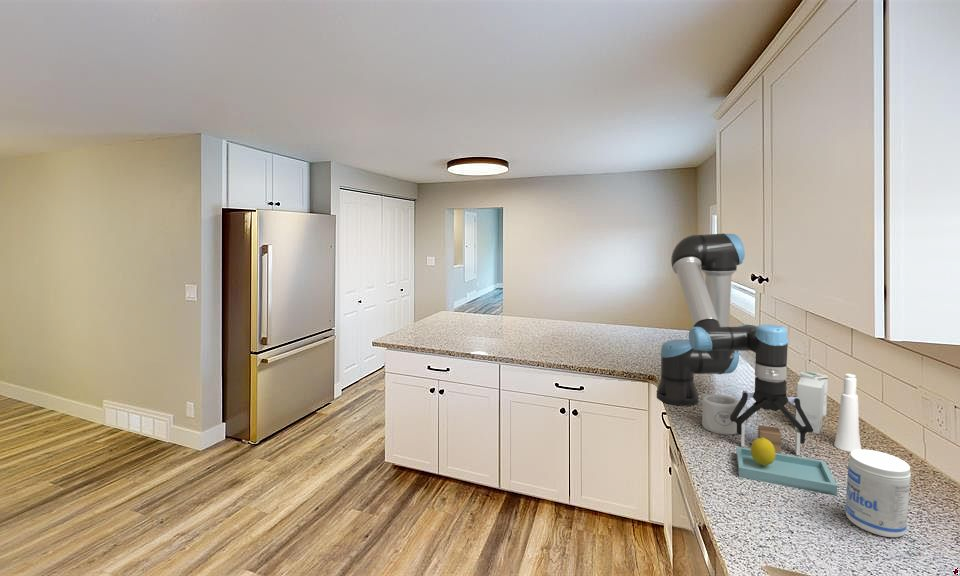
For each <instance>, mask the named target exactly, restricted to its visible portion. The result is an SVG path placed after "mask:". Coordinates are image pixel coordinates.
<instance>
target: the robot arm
mask: <svg viewBox="0 0 960 576" xmlns="http://www.w3.org/2000/svg"><path fill="white" fill-rule="evenodd" d="M745 253H746V252H745V247H744V243H743V241H742V239H741V238H740V237H739V235H737V234H734V233H713V234H712V233H711V234H692V235H688V236H686V237H684V238H683V239H681V240H680V241H679V242H678V243H677V244H676V245H675V247H674V249H673V251H672V254H671V259H670V262H671V267H672V271H673V272H674V274H675V275H677V276H678V281H679V283H680V286H681V290H682V293H683V297H684V299H685V303H686V307H687V309H688V312H689V316H690V319H691V322H692V323H691V324H692V325H693V327H691V328H690V329H689V331H688V339H683V338H682V339H680V338H679V339H673V340H672V339H670V340H668V341H665V342H663V344H662V345H661V347H660V348H661V351H660V367H661V369H660V376H661V377H660V381H659V383H658V387H657V390H656V399H657V400H659V401H660V402H662V403H666V404H668V405H674V406H681V405H682V406H683V407H684V406H685V405H686V406H687V405H688V406H694V405H696V404H698V403H699V399H700V398H699V393H698V390H697V388H696V385H695V382H694V381H695V379H694V375H696V374H697V375H698V374H700V375H701V374H702V375H703V374H705V375H724V374H725V375H726V374H731V373H733V372H734V371H735V370H736V369H737V367H738V364H739V361H740V360H739V359H740V353H739V351H740V352H741V351H742V352H743V351H744V352H745V351H746V352H747V351H748V352H749V351H751V352H753V353H755V359H754V360H755V362H754V363H755V369H754V370H755V373H754V374H755V376H756V377H755V378H754V392H748V391H746V390H743V391H742V395H741V398H740V400H738V401H739V403H738V404H737V406H736V407H735V409H734V411H733V412H732V414H731V415H730V420H731V421H732V422H736V423H737V433H736V434H737V435H740V447H743V448H745V434H746V433H745V425H746V424H744V422H746V420H747V419H748V418H749V419H750V417H752V416H753V415H754V414H755V413H756V412H757V411H759V410H760V409H763V410H764V411H773V412H778V411H780V412H782V414H783V415H784V416H785V417H786V418H787V419H788V420H789V421H790V422H791V424H792V425H793V426H794V429H795V427H796V428H797V429H795V433H794V434H795V437H794V452H795V456H798V457H801V444H803V445H804V444H805V443H806V434H807V433H811V432H813V428H812V426H811V425H810V423H809V421H808V419H807V417H806V416H805V414H804V412H803V410H802V408H801V406H800V400H799V398H798V397H797V395H795V396H790V397H789V396H787V384H788V383H787V381H786V380H787V374H788V371H787V369H788V368H787V367H788V366H787V365H788V345H789V338H788V330H787V328H786V327H785V326H782V325H777V324H759V325H757V326H756V325H755V324H749V323H747V324H742V325H740V326H730V315H731V313H730V311H731V294H732V275H733V274H734V273H735V272H737V268H738V266H739V265H742V264H743V263H744V260H745ZM702 273H704V275H705V276H704V277H705V278H704V277H703V274H702ZM752 398H753V399H754V401H755V402H754V403H753V404H752V405H751V406H749V409H748V410H745V411H743V413H742V414H741V415H740V413H741V411H742V410H743V408H745V407H744V405H746V404H747V401H749V400H751V399H752ZM788 403H790V404H791V405H792V406H794V407H795V410H796V409H797V411H798V413H799V415H800V417H801V418H802V420H803V422H804V424H805V426H802V425H801V424H800V423H799V422H798V421H797V420H796V417H795V416H794V415H793V414H792V413H791V411H789V409H787V407H786V405H787V404H788ZM688 406H687V407H688ZM738 415H739V417H738V418H737V416H738Z"/></svg>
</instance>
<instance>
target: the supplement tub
mask: <svg viewBox="0 0 960 576" xmlns="http://www.w3.org/2000/svg"><path fill="white" fill-rule="evenodd" d="M911 475H912V473H911V466H910V465H909V463H908V462H906V461H904V459H903V460H902V459H901V458H899V457H897V456H894V455H892V454H889V453H886V452H881V451H878V450H873V449H865V448H864V449H862V448H861V449H858V450H853V451H851V452H849V458H848V464H847V480H846V496H845V497H846V498H845V515H846V517H847V518H848V520H850V522H851V523H852V524H854V525H856V526H857V527H858V528H860V529H862V530H864V531H867V532H869V533H871V534H875V535H877V536H880V537H884V538H885V537H887V538H900V537H902V536H904V535H905V534H906V532H907V526H908V525H907V524H908V523H907V522H908V512H909V502H910V501H909V500H910V490H911V477H912V476H911Z"/></svg>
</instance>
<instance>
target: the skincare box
mask: <svg viewBox="0 0 960 576" xmlns="http://www.w3.org/2000/svg"><path fill="white" fill-rule="evenodd" d="M824 383H825V381H823V380H817V379H810V378H804V377H801V378H800V377H799V381H797V384H796V385H797V386H796V396H797V397H798V398H799V400H800V406H801V408H802V410H803V412H804V414H805V416H806V417H807V419H808V421H809V423H810V425H811V426H812V428H813V432H810V433H812V434H816V435H820V433H821V430H822V428H823V420H824V416H823V402H824ZM795 419H796V420H797V421H798V422H799V423H800V424H801V425H802V426H805V424H804V422H803V420H802V418H801V417H800V415H799V413H798V411H797V409H796V408H795ZM794 429H796V430H798V429H797V428H796V427H795V426H794Z"/></svg>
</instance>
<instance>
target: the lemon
mask: <svg viewBox="0 0 960 576" xmlns="http://www.w3.org/2000/svg"><path fill="white" fill-rule="evenodd" d="M750 449H751V455H752V457H753V459H754V460H755V461H756V462H757V463H759V464H760V465H761V466H765V465H770V464H771V463H773V461H774V460H775V456H776V453H775V448H774V446H773V444H772V443H771V442H770V441H769V440H767V439H765V438H764V437H762V438H756V439H754V440H753V441H752V443H751V446H750Z"/></svg>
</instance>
